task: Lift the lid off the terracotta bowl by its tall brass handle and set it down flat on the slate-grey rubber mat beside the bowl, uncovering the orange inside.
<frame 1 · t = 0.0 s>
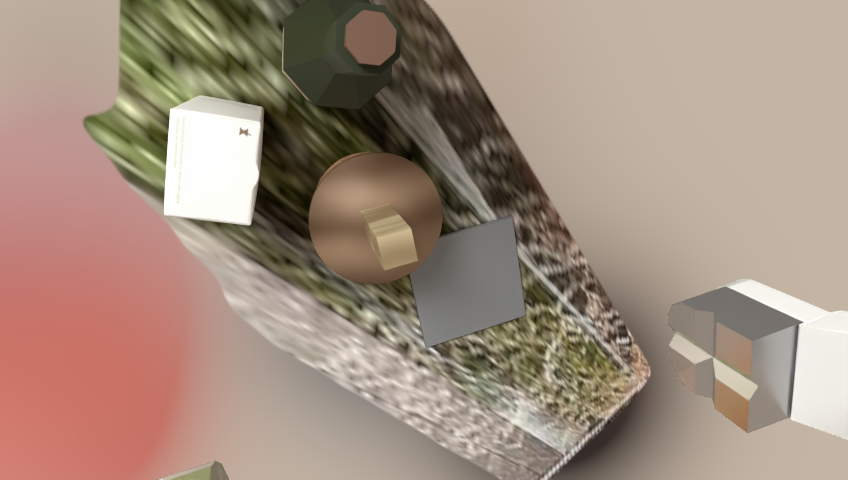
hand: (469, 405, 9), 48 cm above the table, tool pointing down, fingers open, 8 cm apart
mat: (466, 281, 63), on the table
skincare box: (230, 142, 51), on the table
lid: (376, 218, 51), point 6 cm above the table, touching bowl
wine bottle: (321, 59, 51), on the table
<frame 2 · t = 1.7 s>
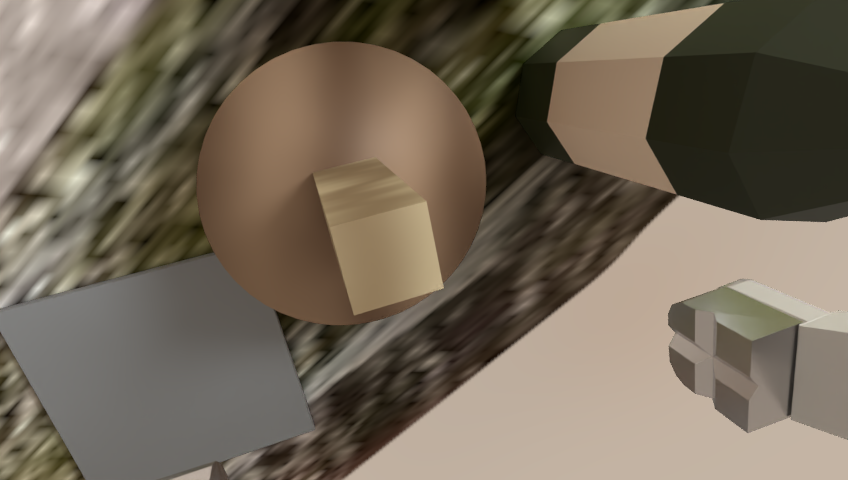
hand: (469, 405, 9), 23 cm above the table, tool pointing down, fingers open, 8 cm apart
mat: (174, 373, 31), on the table
lid: (349, 191, 25), point 6 cm above the table, touching bowl
wine bottle: (570, 96, 33), on the table
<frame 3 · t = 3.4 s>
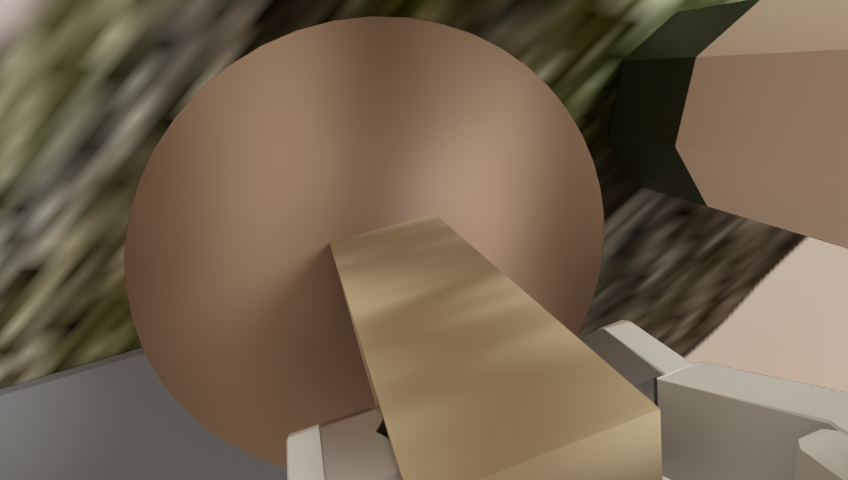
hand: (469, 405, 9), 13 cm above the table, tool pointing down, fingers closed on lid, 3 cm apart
lid: (387, 264, 15), point 6 cm above the table, touching bowl, gripper
wine bottle: (682, 106, 23), on the table
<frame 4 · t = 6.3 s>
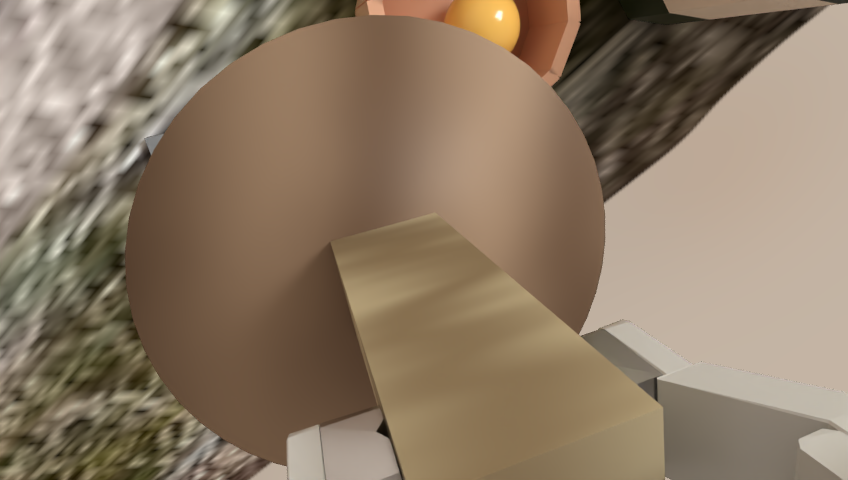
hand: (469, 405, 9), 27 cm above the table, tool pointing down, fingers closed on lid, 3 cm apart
bowl: (447, 21, 33), on the table
lid: (388, 263, 15), point 20 cm above the table, touching gripper
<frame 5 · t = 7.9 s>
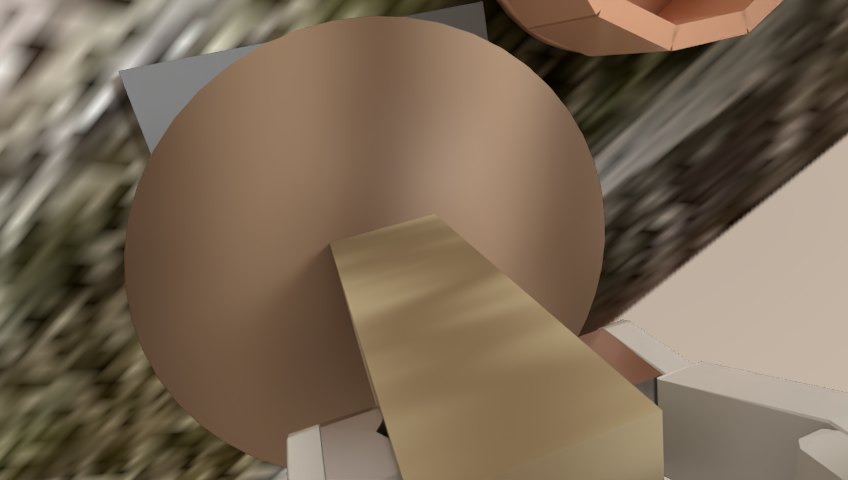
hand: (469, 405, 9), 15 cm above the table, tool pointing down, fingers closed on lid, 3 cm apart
mat: (354, 203, 22), on the table
lid: (387, 264, 15), point 8 cm above the table, touching gripper
when the fingers open (9 cm above the table, at t = 9.4 s): lid drops 1 cm, resting on mat.
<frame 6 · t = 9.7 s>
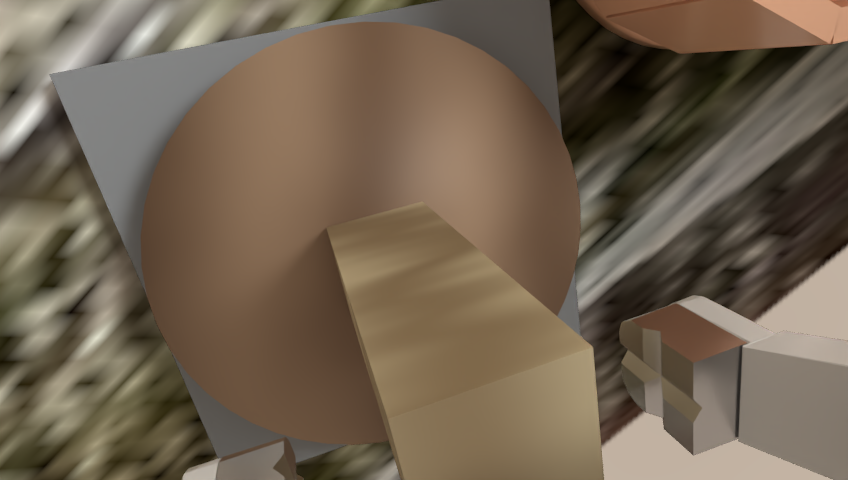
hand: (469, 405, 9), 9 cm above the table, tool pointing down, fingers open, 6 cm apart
mat: (374, 245, 17), on the table
lid: (380, 249, 16), point 1 cm above the table, touching mat
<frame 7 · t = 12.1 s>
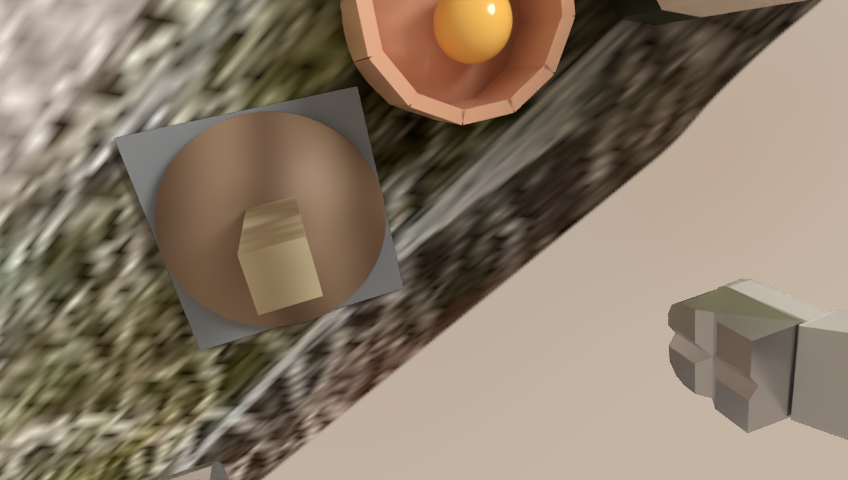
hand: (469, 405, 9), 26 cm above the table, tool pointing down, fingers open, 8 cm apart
bowl: (436, 18, 32), on the table
mat: (276, 220, 32), on the table
lid: (277, 221, 32), point 1 cm above the table, touching mat
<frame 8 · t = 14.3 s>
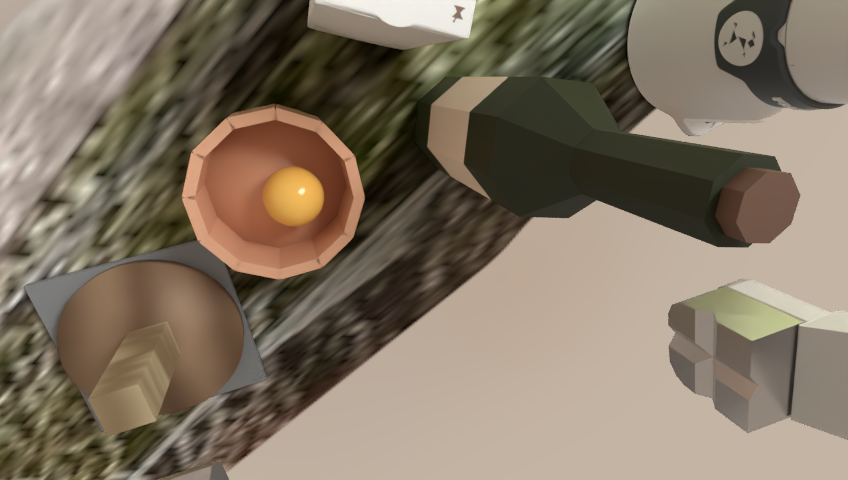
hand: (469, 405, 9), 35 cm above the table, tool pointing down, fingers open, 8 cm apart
bowl: (277, 181, 41), on the table
mat: (158, 333, 42), on the table
skincare box: (361, 0, 39), on the table
lid: (157, 336, 41), point 1 cm above the table, touching mat
wine bottle: (457, 124, 44), on the table
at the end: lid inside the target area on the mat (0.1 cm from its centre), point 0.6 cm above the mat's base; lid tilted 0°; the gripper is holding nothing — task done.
